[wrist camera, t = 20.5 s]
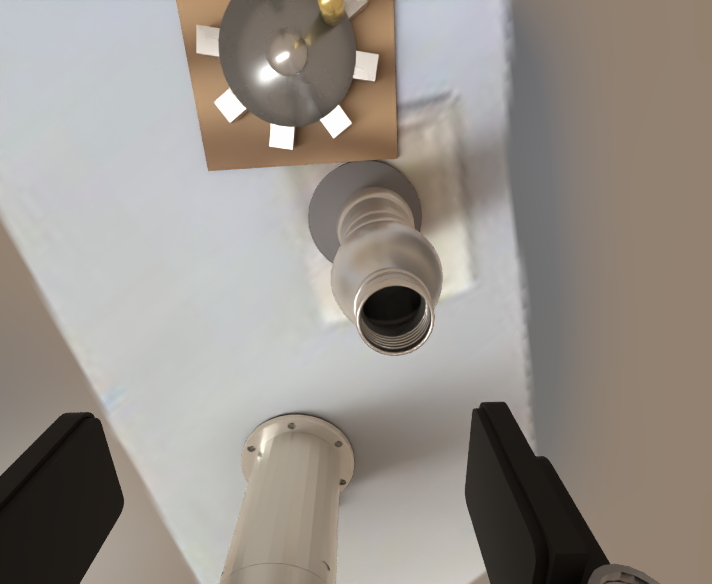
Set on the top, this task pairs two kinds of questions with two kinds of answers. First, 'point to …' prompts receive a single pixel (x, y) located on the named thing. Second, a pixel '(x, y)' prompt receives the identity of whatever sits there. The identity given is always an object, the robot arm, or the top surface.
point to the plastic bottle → (385, 272)
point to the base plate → (313, 142)
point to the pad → (342, 187)
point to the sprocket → (288, 62)
